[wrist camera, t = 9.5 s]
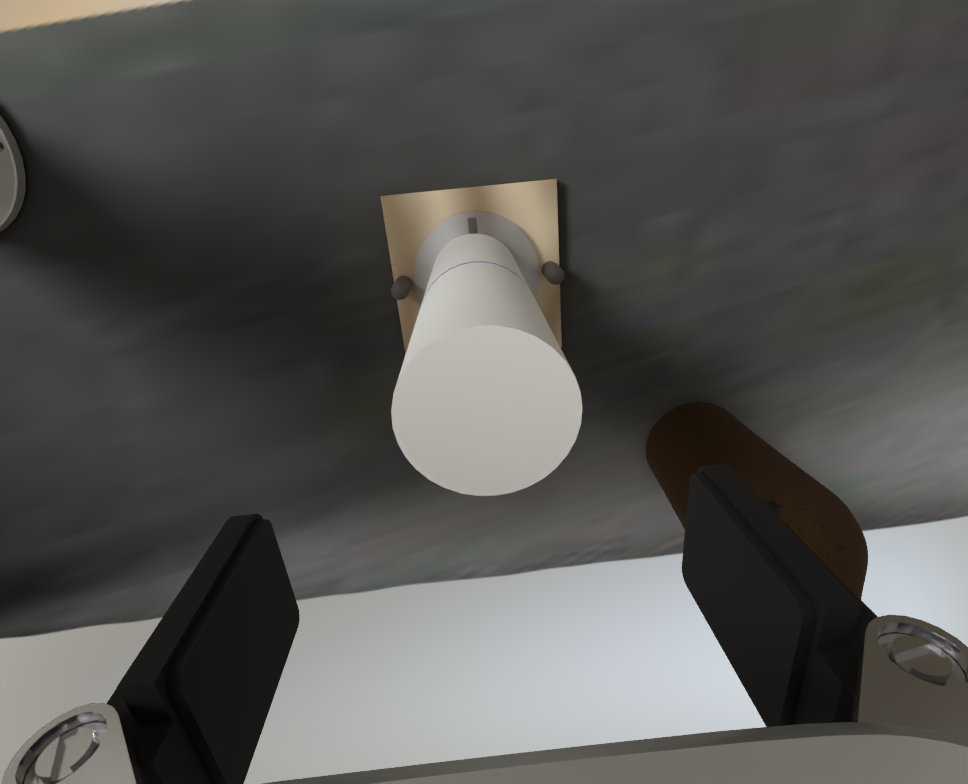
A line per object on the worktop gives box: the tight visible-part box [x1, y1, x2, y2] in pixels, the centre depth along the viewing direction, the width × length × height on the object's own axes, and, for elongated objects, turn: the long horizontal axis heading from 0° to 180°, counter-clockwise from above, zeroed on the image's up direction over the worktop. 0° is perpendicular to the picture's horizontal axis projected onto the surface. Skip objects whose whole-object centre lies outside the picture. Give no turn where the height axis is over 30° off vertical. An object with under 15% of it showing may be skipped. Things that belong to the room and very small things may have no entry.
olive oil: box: [646, 403, 877, 618], centre depth 39 cm, size 11×11×25 cm
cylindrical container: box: [391, 234, 582, 496], centre depth 30 cm, size 7×7×25 cm
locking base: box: [380, 179, 565, 354], centre depth 41 cm, size 14×14×4 cm
